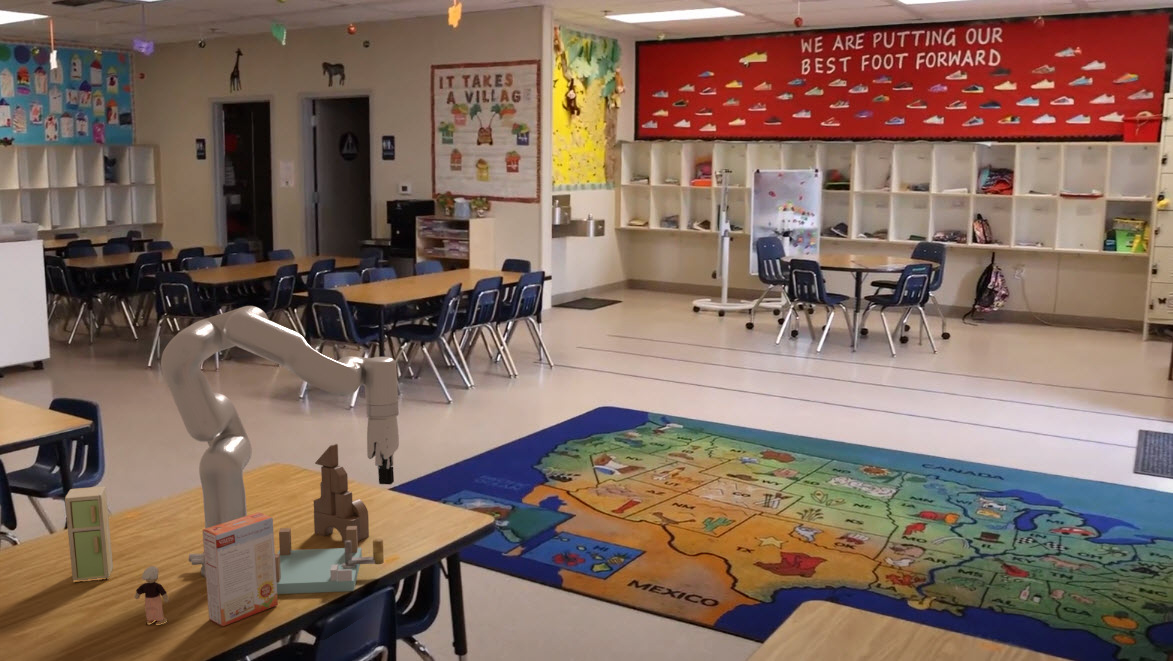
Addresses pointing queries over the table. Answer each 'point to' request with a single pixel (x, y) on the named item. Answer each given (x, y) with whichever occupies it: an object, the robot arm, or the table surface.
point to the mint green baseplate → (315, 567)
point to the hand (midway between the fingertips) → (386, 483)
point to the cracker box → (240, 568)
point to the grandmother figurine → (152, 595)
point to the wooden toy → (337, 500)
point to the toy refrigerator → (89, 533)
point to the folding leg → (376, 558)
